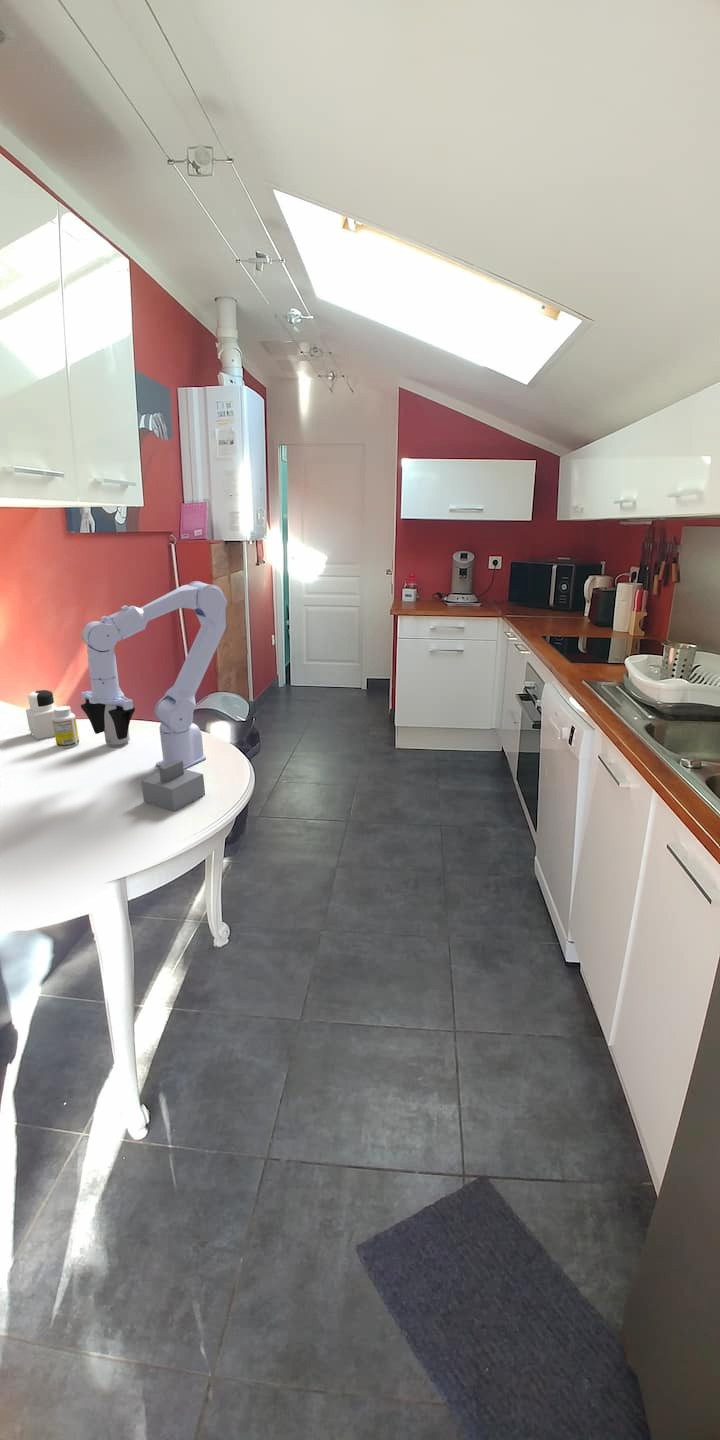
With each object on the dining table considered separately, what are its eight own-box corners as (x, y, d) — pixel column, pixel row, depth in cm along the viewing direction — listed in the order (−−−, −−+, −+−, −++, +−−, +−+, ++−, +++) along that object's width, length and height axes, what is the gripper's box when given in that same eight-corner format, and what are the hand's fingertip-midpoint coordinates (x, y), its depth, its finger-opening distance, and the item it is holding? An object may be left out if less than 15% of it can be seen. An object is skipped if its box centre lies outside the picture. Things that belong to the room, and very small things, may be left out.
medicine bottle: (56, 727, 190) (49, 686, 186) (64, 734, 185) (57, 692, 181) (29, 733, 186) (22, 691, 182) (37, 740, 181) (29, 697, 177)
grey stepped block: (175, 786, 150) (171, 753, 148) (205, 794, 146) (201, 761, 143) (143, 801, 143) (139, 767, 140) (174, 811, 138) (170, 775, 136)
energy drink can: (111, 740, 180) (103, 685, 175) (133, 739, 180) (126, 685, 175) (102, 748, 174) (94, 692, 169) (125, 747, 174) (118, 692, 169)
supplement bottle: (68, 740, 180) (62, 703, 177) (84, 743, 178) (78, 706, 174) (51, 747, 175) (45, 709, 172) (67, 750, 173) (61, 712, 170)
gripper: (66, 676, 148) (74, 734, 152) (111, 685, 141) (118, 746, 145) (93, 669, 154) (100, 726, 158) (137, 678, 147) (144, 736, 151)
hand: (111, 735), depth 152 cm, fingers open, 7 cm apart
